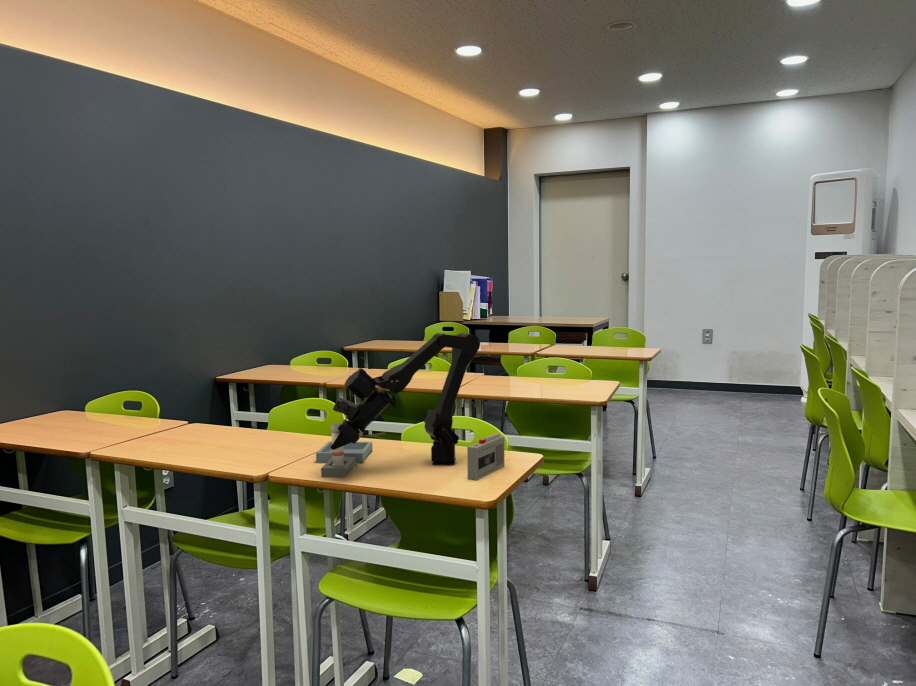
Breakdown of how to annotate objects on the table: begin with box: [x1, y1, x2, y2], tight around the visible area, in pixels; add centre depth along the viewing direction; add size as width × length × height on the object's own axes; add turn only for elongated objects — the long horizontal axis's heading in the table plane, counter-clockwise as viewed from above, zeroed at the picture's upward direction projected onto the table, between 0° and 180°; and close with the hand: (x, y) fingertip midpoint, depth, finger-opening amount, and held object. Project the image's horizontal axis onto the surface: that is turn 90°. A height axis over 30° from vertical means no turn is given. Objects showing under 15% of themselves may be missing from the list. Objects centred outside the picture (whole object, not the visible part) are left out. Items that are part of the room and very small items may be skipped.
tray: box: [315, 440, 373, 464], centre depth 201 cm, size 14×14×3 cm
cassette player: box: [466, 432, 505, 481], centre depth 183 cm, size 16×3×10 cm, turn 147°
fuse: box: [330, 422, 344, 466], centre depth 184 cm, size 3×3×13 cm
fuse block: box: [320, 457, 357, 478], centre depth 186 cm, size 7×12×2 cm, turn 176°
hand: (332, 447), depth 184 cm, fingers closed on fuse, 3 cm apart
